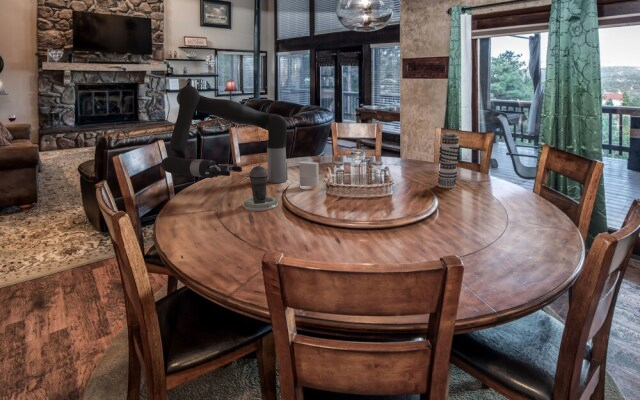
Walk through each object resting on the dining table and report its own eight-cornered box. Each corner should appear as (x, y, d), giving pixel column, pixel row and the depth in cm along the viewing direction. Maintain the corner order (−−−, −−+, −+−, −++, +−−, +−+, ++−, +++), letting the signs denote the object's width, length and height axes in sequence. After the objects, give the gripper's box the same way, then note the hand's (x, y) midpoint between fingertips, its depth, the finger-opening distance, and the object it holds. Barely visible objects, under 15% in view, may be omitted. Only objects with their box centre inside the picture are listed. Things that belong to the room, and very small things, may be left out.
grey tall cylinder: (458, 184, 213) (462, 132, 206) (455, 189, 205) (459, 135, 198) (439, 182, 217) (442, 131, 210) (435, 187, 209) (438, 134, 202)
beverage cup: (251, 201, 183) (249, 153, 178) (269, 201, 184) (267, 153, 178) (250, 206, 176) (247, 157, 171) (268, 206, 177) (266, 156, 171)
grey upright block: (296, 188, 207) (296, 163, 204) (304, 184, 215) (304, 160, 212) (314, 190, 204) (313, 165, 200) (321, 186, 212) (321, 161, 208)
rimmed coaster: (259, 199, 189) (258, 194, 189) (284, 204, 182) (284, 198, 181) (236, 207, 178) (235, 201, 178) (262, 213, 171) (262, 206, 170)
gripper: (192, 162, 180) (224, 165, 174) (213, 157, 193) (244, 159, 186) (193, 180, 182) (226, 184, 176) (214, 173, 195) (245, 176, 188)
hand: (235, 171), depth 181 cm, fingers open, 8 cm apart
